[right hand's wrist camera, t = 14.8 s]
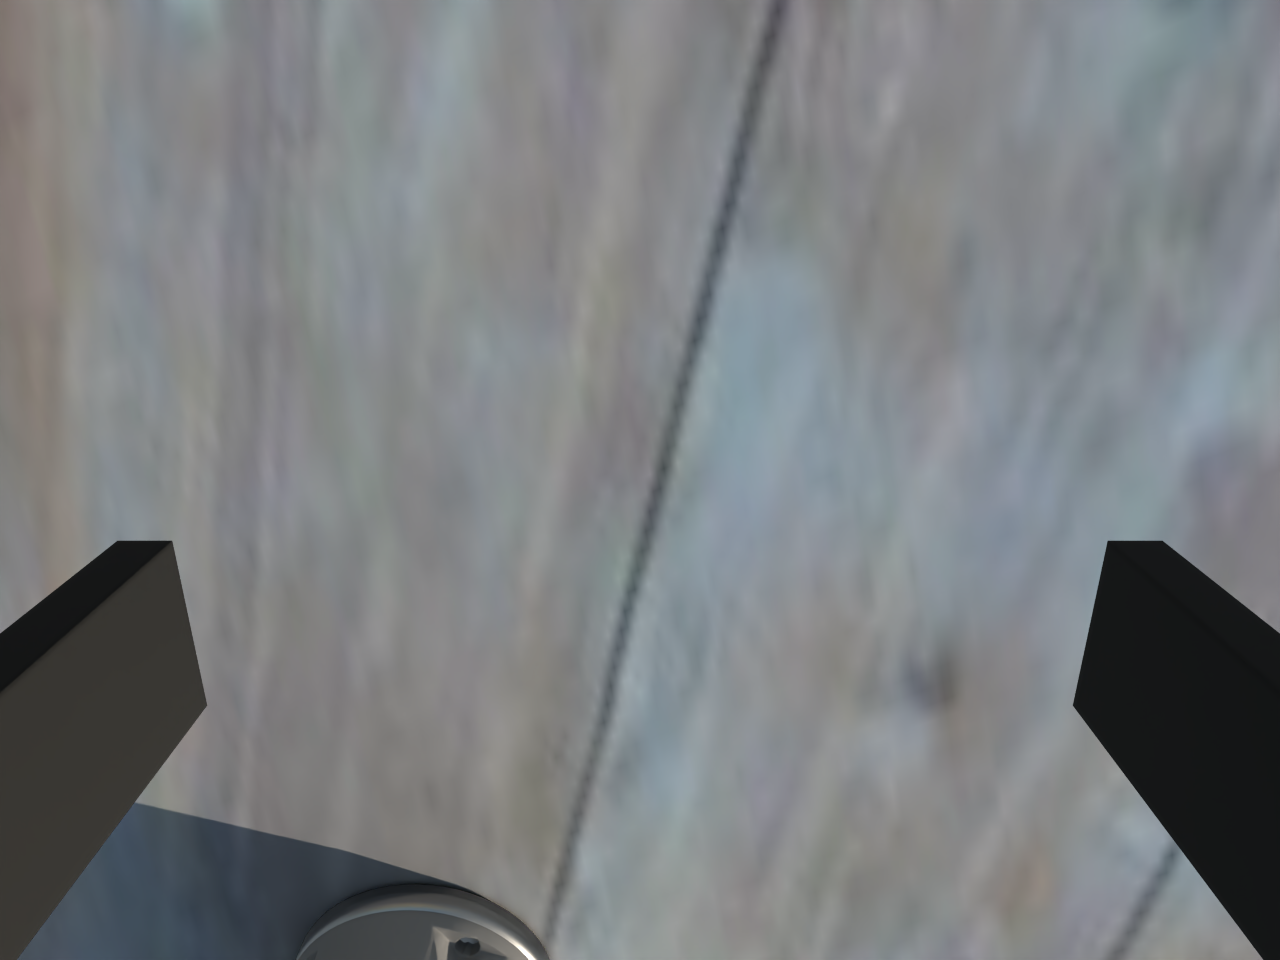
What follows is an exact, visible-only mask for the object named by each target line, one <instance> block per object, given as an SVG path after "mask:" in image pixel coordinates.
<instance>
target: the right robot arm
mask: <svg viewBox="0 0 1280 960" xmlns="http://www.w3.org/2000/svg"><path fill="white" fill-rule="evenodd" d="M206 706H207V703H206V698H205V693H204V689H203V684H202V679H201V674H200V670H199V665H198V660H197V656H196V651H195V646H194V641H193V637H192V632H191V627H190V623H189V618H188V613H187V608H186V604H185V599H184V594H183V590H182V585H181V580H180V575H179V571H178V566H177V561H176V557H175V552H174V547H173V542H172V541H117V542H115V543H114V544H113V545H112V546H110V547H109V548H108V549H107V550H105V551H104V552H103V553H102V554H100V555H99V556H98V557H96V558H95V559H94V560H93V561H91V562H90V563H89V564H88V565H86V566H85V567H84V568H83V569H81V570H80V571H79V572H78V573H76V574H75V575H74V576H72V577H71V578H70V579H69V580H67V581H66V582H65V583H64V584H62V585H61V586H60V587H59V588H57V589H56V590H55V591H54V592H52V593H51V594H50V595H48V596H47V597H46V598H45V599H43V600H42V601H41V602H40V603H38V604H37V605H36V606H35V607H33V608H32V609H31V610H29V611H28V612H27V613H26V614H24V615H23V616H22V617H21V618H19V619H18V620H17V621H16V622H14V623H13V624H12V625H11V626H9V627H8V628H7V629H5V630H4V631H3V632H2V633H0V960H17V959H18V957H19V956H20V955H21V953H22V952H23V951H24V949H25V948H26V947H27V945H28V944H29V943H30V941H31V940H32V939H33V937H34V936H35V935H36V933H37V932H38V931H39V929H40V928H41V926H42V925H43V924H44V922H45V921H46V920H47V918H48V917H49V916H50V914H51V913H52V912H53V910H54V909H55V908H56V906H57V905H58V904H59V902H60V901H61V900H62V898H63V897H64V896H65V894H66V893H67V892H68V890H69V889H70V888H71V886H72V885H73V884H74V882H75V881H76V880H77V878H78V877H79V876H80V874H81V873H82V872H83V870H84V869H85V868H86V866H87V865H88V864H89V862H90V861H91V860H92V858H93V857H94V856H95V854H96V853H97V852H98V850H99V849H100V848H101V846H102V845H103V844H104V842H105V841H106V840H107V838H108V837H109V836H110V834H111V833H112V832H113V830H114V829H115V828H116V826H117V825H118V824H119V822H120V821H121V820H122V818H123V817H124V816H125V814H126V813H127V812H128V810H129V809H130V808H131V806H132V805H133V804H134V802H135V801H136V800H137V798H138V797H139V796H140V794H141V793H142V792H143V790H144V789H145V788H146V786H147V785H148V784H149V782H150V781H151V780H152V778H153V777H154V776H155V774H156V773H157V772H158V770H159V769H160V768H161V766H162V765H163V764H164V762H165V761H166V760H167V758H168V757H169V756H170V754H171V753H172V752H173V750H174V749H175V748H176V746H177V745H178V744H179V742H180V741H181V740H182V738H183V737H184V736H185V734H186V733H187V732H188V730H189V729H190V728H191V726H192V725H193V724H194V722H195V721H196V720H197V718H198V717H199V716H200V714H201V713H202V712H203V710H204V709H205V708H206ZM1073 706H1074V708H1075V709H1076V710H1077V712H1078V713H1079V714H1080V716H1081V717H1082V718H1083V720H1084V721H1085V722H1086V724H1087V725H1088V726H1089V728H1090V729H1091V730H1092V732H1093V733H1094V734H1095V736H1096V737H1097V738H1098V740H1099V741H1100V742H1101V744H1102V745H1103V746H1104V748H1105V749H1106V750H1107V752H1108V753H1109V754H1110V756H1111V757H1112V758H1113V760H1114V761H1115V762H1116V764H1117V765H1118V766H1119V768H1120V769H1121V770H1122V772H1123V773H1124V774H1125V776H1126V777H1127V778H1128V780H1129V781H1130V782H1131V784H1132V785H1133V786H1134V788H1135V789H1136V790H1137V792H1138V793H1139V794H1140V796H1141V797H1142V798H1143V800H1144V801H1145V802H1146V804H1147V805H1148V806H1149V808H1150V809H1151V810H1152V812H1153V813H1154V814H1155V816H1156V817H1157V818H1158V820H1159V821H1160V822H1161V824H1162V825H1163V826H1164V828H1165V829H1166V830H1167V832H1168V833H1169V834H1170V836H1171V837H1172V838H1173V840H1174V841H1175V842H1176V844H1177V845H1178V846H1179V848H1180V849H1181V850H1182V852H1183V853H1184V854H1185V856H1186V857H1187V858H1188V860H1189V861H1190V862H1191V864H1192V865H1193V866H1194V868H1195V869H1196V870H1197V872H1198V873H1199V874H1200V876H1201V877H1202V878H1203V880H1204V881H1205V882H1206V884H1207V885H1208V886H1209V888H1210V889H1211V890H1212V892H1213V893H1214V894H1215V896H1216V897H1217V898H1218V900H1219V901H1220V902H1221V904H1222V905H1223V906H1224V908H1225V909H1226V910H1227V912H1228V913H1229V914H1230V916H1231V917H1232V918H1233V920H1234V921H1235V922H1236V924H1237V925H1238V926H1239V928H1240V929H1241V931H1242V932H1243V933H1244V935H1245V936H1246V937H1247V939H1248V940H1249V941H1250V943H1251V944H1252V945H1253V947H1254V948H1255V949H1256V951H1257V952H1258V953H1259V955H1260V956H1261V957H1262V959H1263V960H1280V633H1278V632H1277V631H1276V630H1275V629H1273V628H1272V627H1271V626H1269V625H1268V624H1267V623H1266V622H1264V621H1263V620H1262V619H1261V618H1259V617H1258V616H1257V615H1256V614H1254V613H1253V612H1252V611H1251V610H1249V609H1248V608H1247V607H1245V606H1244V605H1243V604H1242V603H1240V602H1239V601H1238V600H1237V599H1235V598H1234V597H1233V596H1232V595H1230V594H1229V593H1228V592H1226V591H1225V590H1224V589H1223V588H1221V587H1220V586H1219V585H1218V584H1216V583H1215V582H1214V581H1213V580H1211V579H1210V578H1209V577H1208V576H1206V575H1205V574H1204V573H1202V572H1201V571H1200V570H1199V569H1197V568H1196V567H1195V566H1194V565H1192V564H1191V563H1190V562H1189V561H1187V560H1186V559H1185V558H1184V557H1182V556H1181V555H1180V554H1178V553H1177V552H1176V551H1175V550H1173V549H1172V548H1171V547H1170V546H1168V545H1167V544H1166V543H1165V542H1163V541H1108V542H1107V547H1106V552H1105V557H1104V561H1103V566H1102V571H1101V575H1100V580H1099V585H1098V590H1097V594H1096V599H1095V604H1094V608H1093V613H1092V618H1091V623H1090V627H1089V632H1088V637H1087V641H1086V646H1085V651H1084V656H1083V660H1082V665H1081V670H1080V674H1079V679H1078V684H1077V689H1076V693H1075V698H1074V703H1073ZM296 960H550V959H549V957H548V955H547V953H546V951H545V949H544V947H543V946H542V944H541V943H540V941H539V940H538V938H537V937H536V936H535V935H534V933H533V932H532V931H531V930H530V929H529V928H528V927H527V926H526V925H525V924H524V923H523V922H522V921H520V920H519V919H518V918H517V917H516V916H514V915H513V914H511V913H510V912H508V911H507V910H505V909H504V908H502V907H500V906H498V905H497V904H495V903H493V902H491V901H489V900H486V899H484V898H482V897H479V896H477V895H474V894H471V893H468V892H465V891H461V890H457V889H453V888H448V887H442V886H435V885H421V884H408V885H395V886H388V887H382V888H377V889H374V890H370V891H366V892H363V893H361V894H358V895H355V896H353V897H351V898H348V899H346V900H344V901H343V902H341V903H339V904H337V905H336V906H334V907H333V908H332V909H330V910H329V911H327V912H326V913H325V914H324V915H323V916H322V917H321V918H319V919H318V921H317V922H316V923H315V924H314V925H313V926H312V928H311V929H310V931H309V932H308V934H307V935H306V937H305V939H304V941H303V943H302V945H301V948H300V950H299V953H298V955H297V958H296Z"/></svg>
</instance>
